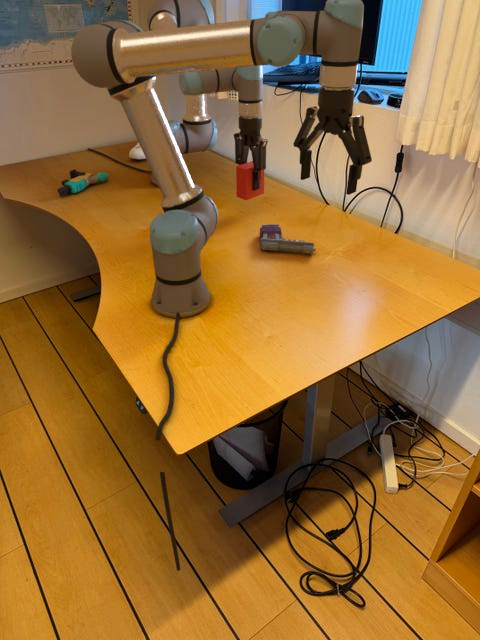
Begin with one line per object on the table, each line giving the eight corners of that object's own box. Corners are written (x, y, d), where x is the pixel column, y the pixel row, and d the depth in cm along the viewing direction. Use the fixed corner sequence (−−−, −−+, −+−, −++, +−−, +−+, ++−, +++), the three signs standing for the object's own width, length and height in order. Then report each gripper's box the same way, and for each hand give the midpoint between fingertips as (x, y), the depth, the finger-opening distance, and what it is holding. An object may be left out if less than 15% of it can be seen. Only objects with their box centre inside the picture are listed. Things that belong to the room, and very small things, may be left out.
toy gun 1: (36, 183, 186) (64, 189, 180) (82, 165, 204) (109, 170, 199) (38, 194, 188) (67, 201, 183) (84, 175, 207) (111, 180, 201)
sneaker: (123, 162, 220) (119, 135, 213) (150, 145, 242) (147, 120, 235) (143, 164, 218) (140, 137, 210) (169, 146, 240) (166, 121, 232)
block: (264, 193, 167) (264, 163, 160) (246, 200, 162) (245, 169, 155) (254, 190, 169) (254, 160, 163) (236, 196, 164) (236, 166, 158)
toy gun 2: (318, 236, 156) (314, 258, 144) (261, 232, 159) (253, 253, 147) (319, 225, 153) (315, 247, 141) (262, 221, 156) (253, 242, 145)
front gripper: (399, 92, 95) (381, 194, 107) (303, 77, 109) (297, 169, 122) (378, 98, 90) (362, 204, 103) (281, 82, 105) (277, 176, 118)
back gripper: (279, 118, 147) (276, 191, 161) (239, 109, 158) (240, 178, 171) (262, 122, 143) (261, 197, 157) (222, 113, 153) (225, 183, 167)
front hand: (327, 185), depth 112 cm, fingers open, 13 cm apart
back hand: (250, 187), depth 164 cm, fingers closed on block, 5 cm apart
